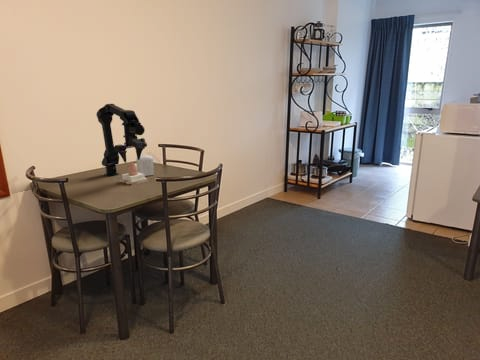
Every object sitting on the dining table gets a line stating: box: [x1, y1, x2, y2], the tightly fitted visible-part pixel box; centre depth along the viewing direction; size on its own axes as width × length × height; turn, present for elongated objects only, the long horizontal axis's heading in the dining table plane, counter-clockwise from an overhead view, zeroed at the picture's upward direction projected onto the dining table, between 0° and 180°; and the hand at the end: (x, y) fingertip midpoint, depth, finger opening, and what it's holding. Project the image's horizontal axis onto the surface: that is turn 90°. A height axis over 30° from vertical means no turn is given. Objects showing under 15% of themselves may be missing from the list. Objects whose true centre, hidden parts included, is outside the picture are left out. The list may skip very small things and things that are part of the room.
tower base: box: [119, 177, 149, 186], centre depth 209 cm, size 11×11×2 cm
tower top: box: [121, 172, 146, 182], centre depth 208 cm, size 9×9×2 cm
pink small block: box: [127, 162, 138, 175], centre depth 207 cm, size 5×5×6 cm
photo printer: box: [135, 155, 155, 177], centre depth 220 cm, size 10×4×12 cm, turn 123°
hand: (132, 161), depth 205 cm, fingers open, 9 cm apart
